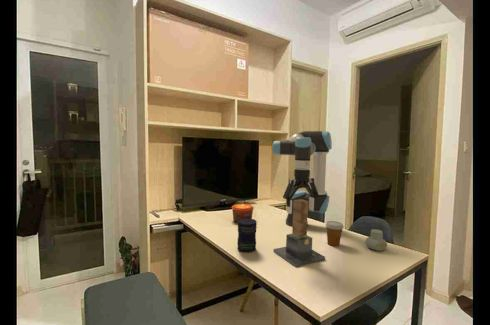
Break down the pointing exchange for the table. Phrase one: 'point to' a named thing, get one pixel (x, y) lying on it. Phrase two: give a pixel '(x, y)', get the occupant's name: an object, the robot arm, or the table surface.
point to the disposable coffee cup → (334, 232)
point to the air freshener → (376, 240)
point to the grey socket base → (298, 251)
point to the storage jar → (246, 235)
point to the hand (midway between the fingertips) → (300, 211)
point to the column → (300, 219)
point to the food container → (242, 211)
